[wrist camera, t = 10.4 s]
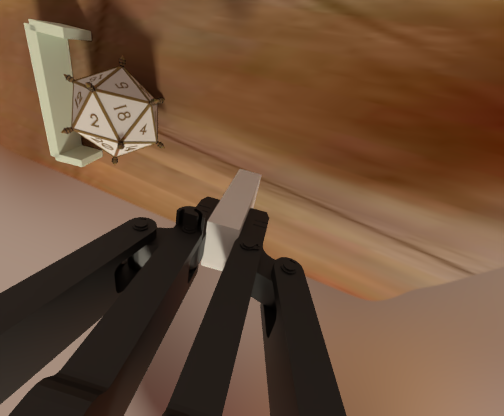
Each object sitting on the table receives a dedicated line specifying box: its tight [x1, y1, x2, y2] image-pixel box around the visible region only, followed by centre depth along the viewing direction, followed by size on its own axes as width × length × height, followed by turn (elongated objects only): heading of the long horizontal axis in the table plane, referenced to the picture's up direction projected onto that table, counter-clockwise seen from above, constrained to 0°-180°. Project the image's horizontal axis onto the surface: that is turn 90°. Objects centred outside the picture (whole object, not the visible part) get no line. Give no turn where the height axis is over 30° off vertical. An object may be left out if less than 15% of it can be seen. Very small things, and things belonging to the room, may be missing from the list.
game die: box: [61, 55, 165, 166], centre depth 24 cm, size 9×8×10 cm
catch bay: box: [24, 19, 103, 167], centre depth 27 cm, size 4×13×4 cm, turn 168°
